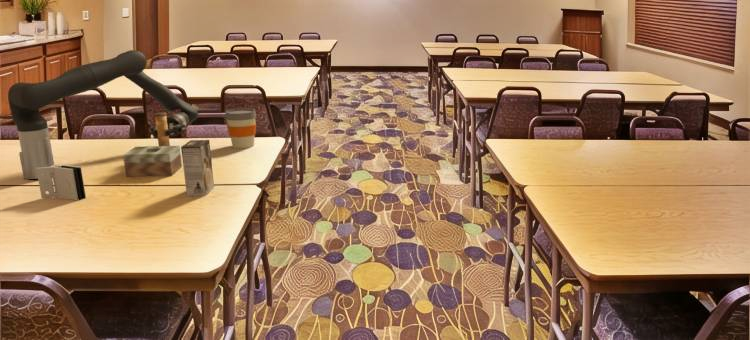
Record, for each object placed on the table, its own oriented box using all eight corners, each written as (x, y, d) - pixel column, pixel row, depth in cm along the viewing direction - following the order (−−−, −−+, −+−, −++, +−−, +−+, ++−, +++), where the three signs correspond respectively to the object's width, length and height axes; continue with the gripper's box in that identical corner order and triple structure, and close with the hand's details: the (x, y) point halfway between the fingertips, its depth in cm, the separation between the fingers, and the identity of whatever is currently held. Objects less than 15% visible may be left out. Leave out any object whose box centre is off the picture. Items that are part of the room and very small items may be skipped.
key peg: (157, 157, 220) (152, 114, 215) (161, 155, 224) (156, 112, 219) (169, 157, 220) (164, 114, 215) (173, 154, 224) (168, 112, 220)
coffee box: (195, 187, 191) (190, 139, 187) (214, 187, 191) (210, 139, 187) (186, 196, 182) (180, 146, 178) (206, 195, 182) (201, 146, 178)
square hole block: (126, 176, 204) (123, 154, 202) (138, 167, 216) (135, 146, 213) (171, 175, 205) (169, 153, 202) (181, 166, 216) (179, 145, 214)
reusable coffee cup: (262, 142, 252) (259, 108, 248) (253, 149, 240) (250, 113, 235) (233, 142, 253) (231, 108, 249) (223, 149, 241) (220, 113, 237)
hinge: (40, 199, 182) (35, 168, 179) (52, 193, 187) (47, 163, 184) (80, 200, 180) (75, 169, 177) (91, 195, 185) (86, 164, 182)
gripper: (155, 115, 232) (139, 124, 215) (190, 114, 232) (178, 123, 216) (157, 133, 234) (142, 144, 218) (192, 133, 234) (180, 143, 218)
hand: (160, 133), depth 217 cm, fingers closed on key peg, 4 cm apart
